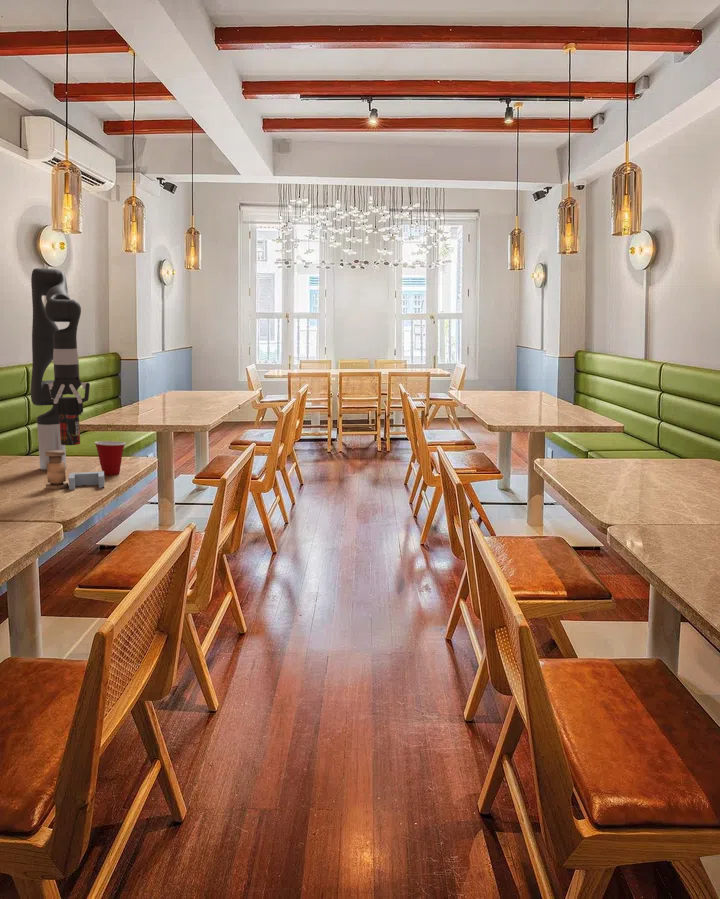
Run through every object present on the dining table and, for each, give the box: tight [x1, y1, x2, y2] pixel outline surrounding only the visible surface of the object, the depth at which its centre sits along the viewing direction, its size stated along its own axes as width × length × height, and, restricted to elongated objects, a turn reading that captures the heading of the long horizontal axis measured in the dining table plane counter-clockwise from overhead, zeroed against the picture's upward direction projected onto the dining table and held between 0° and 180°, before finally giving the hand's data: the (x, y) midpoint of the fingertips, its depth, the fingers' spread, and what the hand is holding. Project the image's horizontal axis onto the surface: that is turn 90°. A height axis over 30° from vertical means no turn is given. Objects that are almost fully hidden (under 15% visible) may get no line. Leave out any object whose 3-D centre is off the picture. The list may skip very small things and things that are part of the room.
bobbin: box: [45, 450, 69, 490], centre depth 249 cm, size 7×7×12 cm
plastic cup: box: [94, 440, 126, 476], centre depth 272 cm, size 11×11×12 cm
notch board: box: [67, 470, 106, 491], centre depth 251 cm, size 9×11×4 cm
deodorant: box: [58, 396, 81, 446], centre depth 243 cm, size 6×6×15 cm
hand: (69, 414), depth 243 cm, fingers closed on deodorant, 6 cm apart
